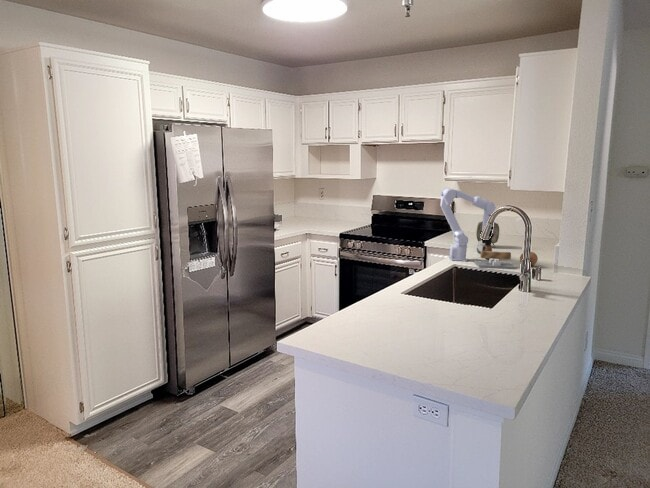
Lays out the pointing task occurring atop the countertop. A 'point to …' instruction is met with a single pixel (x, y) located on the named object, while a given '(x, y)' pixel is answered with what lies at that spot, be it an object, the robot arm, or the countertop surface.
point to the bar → (495, 255)
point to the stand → (494, 264)
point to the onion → (531, 258)
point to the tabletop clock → (495, 232)
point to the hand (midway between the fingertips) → (485, 244)
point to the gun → (483, 247)
